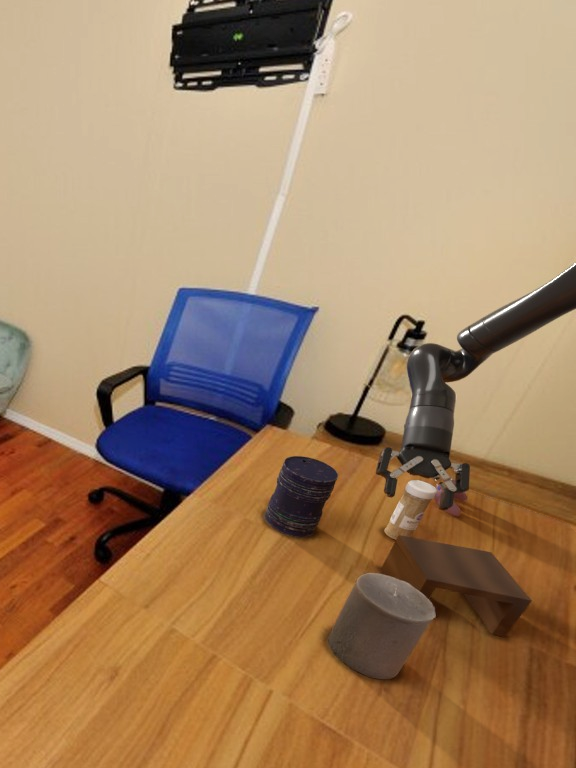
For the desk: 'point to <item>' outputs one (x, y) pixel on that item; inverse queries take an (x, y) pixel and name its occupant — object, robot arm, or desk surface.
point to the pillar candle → (380, 625)
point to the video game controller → (459, 496)
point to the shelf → (460, 578)
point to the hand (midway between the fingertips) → (416, 502)
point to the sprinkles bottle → (410, 509)
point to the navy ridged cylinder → (300, 496)
